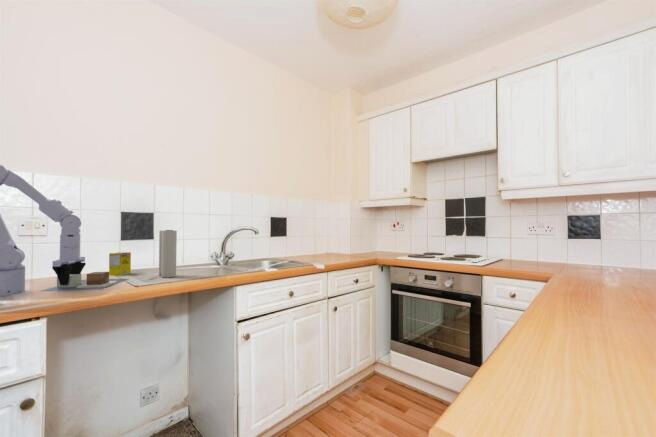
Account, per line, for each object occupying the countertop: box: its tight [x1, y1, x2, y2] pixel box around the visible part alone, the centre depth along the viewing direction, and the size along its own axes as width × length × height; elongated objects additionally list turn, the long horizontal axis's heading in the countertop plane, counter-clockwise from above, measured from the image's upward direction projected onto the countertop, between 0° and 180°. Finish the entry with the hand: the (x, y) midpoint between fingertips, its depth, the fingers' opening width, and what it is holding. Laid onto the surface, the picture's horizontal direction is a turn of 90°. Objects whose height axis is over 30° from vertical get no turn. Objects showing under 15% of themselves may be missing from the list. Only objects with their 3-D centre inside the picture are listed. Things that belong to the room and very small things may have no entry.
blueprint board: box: [41, 278, 129, 292], centre depth 114 cm, size 21×19×2 cm
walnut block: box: [86, 271, 110, 285], centre depth 113 cm, size 5×5×4 cm
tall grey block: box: [158, 229, 178, 278], centre depth 137 cm, size 7×6×21 cm
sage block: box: [56, 273, 82, 288], centre depth 111 cm, size 5×5×4 cm
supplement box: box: [108, 251, 132, 276], centre depth 138 cm, size 6×6×11 cm
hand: (69, 283), depth 111 cm, fingers closed on sage block, 5 cm apart
